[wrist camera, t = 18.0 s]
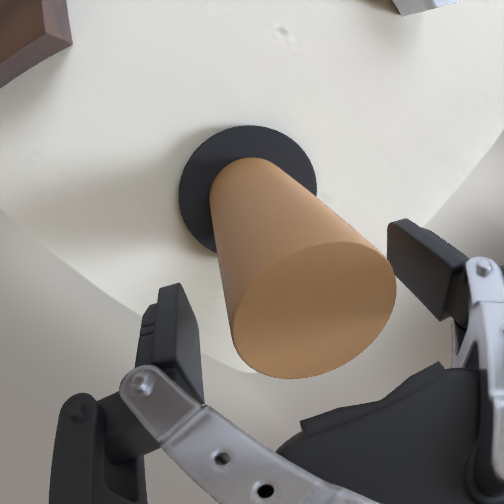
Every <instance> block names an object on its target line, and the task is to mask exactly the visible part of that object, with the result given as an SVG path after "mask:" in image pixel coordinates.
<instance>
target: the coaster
mask: <svg viewBox="0 0 504 504" xmlns="http://www.w3.org/2000/svg"><path fill="white" fill-rule="evenodd" d="M252 157H253V158H261V159H265V160H267V161H269V162H271V163H273V164H275V165H276V166H277V167H279V168H280V169H281V170H283V171H284V172H285V173H286V174H288V175H289V176H290V177H292V178H293V179H294V180H296V181H297V182H298V183H299V184H301V185H302V186H303V187H304V188H306V189H307V190H308V191H309V192H311V193H312V194H313V195H314V196H316V195H317V183H316V177H315V173H314V169H313V166H312V164H311V162H310V160H309V158H308V157H307V155H306V153H305V152H304V151H303V150H302V148H301V147H300V146H299V145H298V144H297V143H296V142H294V141H293V140H292V139H291V138H289V137H288V136H286V135H285V134H283V133H280V132H278V131H276V130H273V129H270V128H266V127H261V126H238V127H233V128H229V129H226V130H224V131H221V132H219V133H217V134H215V135H214V136H212V137H210V138H209V139H207V140H206V141H205V142H204V143H202V144H201V145H200V146H199V147H198V148H197V149H196V150H195V152H194V153H193V154H192V156H191V157H190V159H189V160H188V162H187V164H186V166H185V168H184V171H183V174H182V177H181V182H180V186H179V205H180V210H181V214H182V217H183V219H184V222H185V224H186V226H187V228H188V229H189V231H190V232H191V233H192V235H193V236H194V237H195V238H196V239H197V240H198V241H199V242H200V243H201V244H202V245H204V246H205V247H206V248H208V249H210V250H211V251H213V252H215V253H217V248H216V242H215V236H214V229H213V223H212V216H211V209H210V201H209V196H210V190H211V186H212V183H213V181H214V179H215V178H216V176H217V175H218V173H219V172H220V171H221V170H222V169H223V168H224V167H226V166H227V165H229V164H230V163H232V162H234V161H236V160H239V159H243V158H252Z"/></svg>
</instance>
